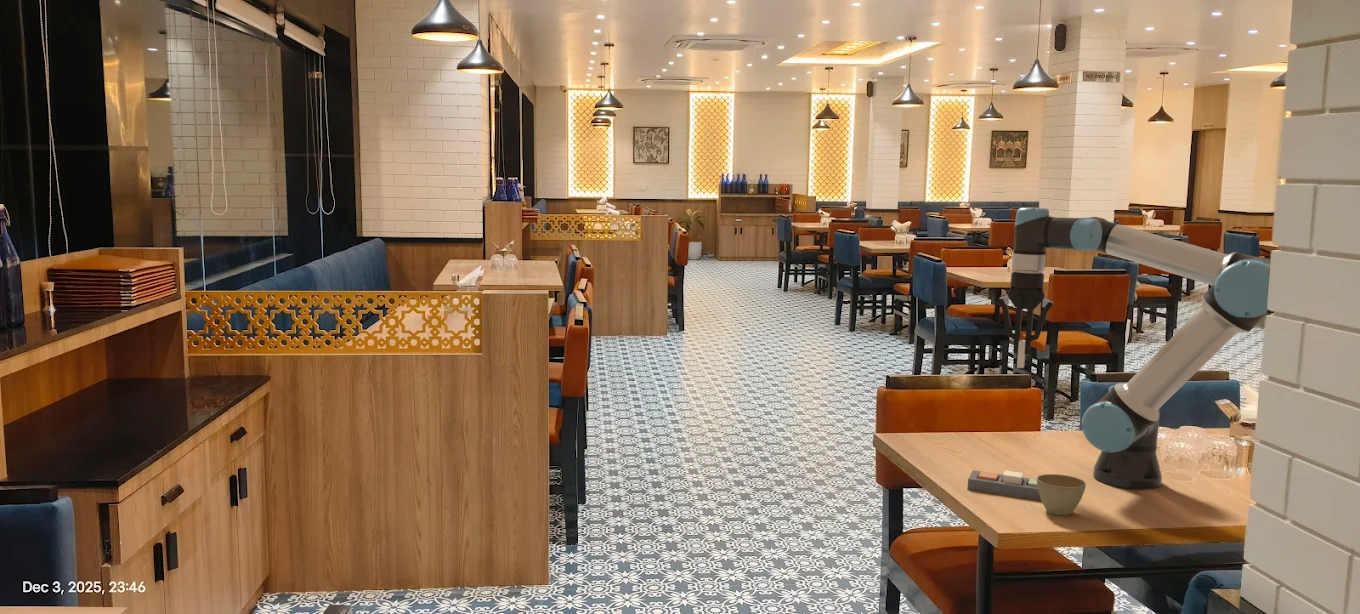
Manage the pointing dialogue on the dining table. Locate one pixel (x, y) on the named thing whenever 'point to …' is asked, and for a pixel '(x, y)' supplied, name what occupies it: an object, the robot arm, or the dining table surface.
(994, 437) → the dining table surface
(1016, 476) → the cream key
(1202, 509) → the dining table surface
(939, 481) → the dining table surface
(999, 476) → the keyguard
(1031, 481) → the sage key
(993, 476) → the peach key
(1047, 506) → the flower pot
